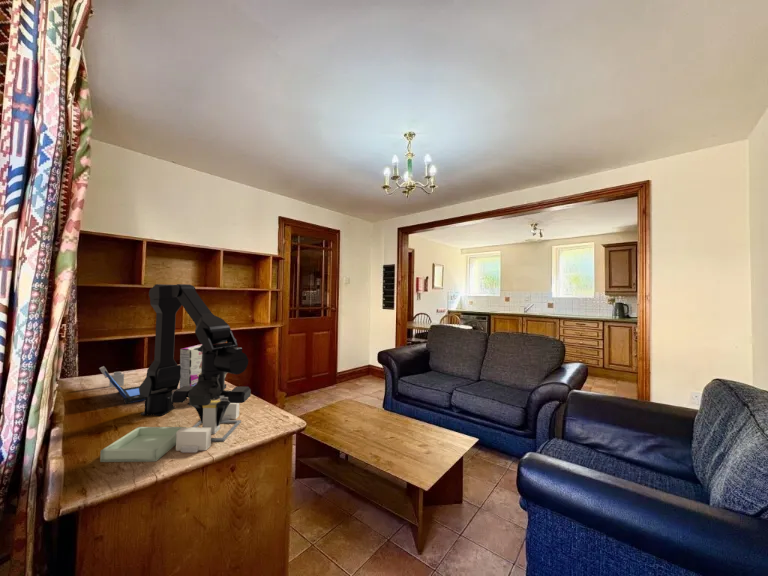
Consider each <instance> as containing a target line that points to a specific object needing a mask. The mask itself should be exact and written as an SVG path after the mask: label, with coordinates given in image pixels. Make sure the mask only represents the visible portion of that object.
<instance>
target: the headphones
mask: <svg viewBox="0 0 768 576" xmlns="http://www.w3.org/2000/svg"><path fill="white" fill-rule="evenodd" d="M240 405H241V403H230V404H229V405H228V407H227V409H226V411H225V414H224V416H223V418H222V420H221V423H220V424H234V425H233V426H232V427H230V428H229V430H228V431H227V432H226V433H225V434H224V435H223V436H222V437H212V434H211V427H199V426H200V425H201V424H202V422H201V419H200V420H199V421H198V422H196V423H195V424H194V425H193V426H191V427H186V426H181V427H182V428H181V429H179V430H178V431H177V432H176V445H175V452H176V451H178V452H179V451H180V453H198V452H199V451H207V450H208V449H209V448H210V447H211V446H212V444H211V443H212V442H224V441H225V440H227V438H228V437H229V436H230V435H231V434H232V433H233V432H234V430H236V428H237V427H238V426H239V425H240V424H241V423H242V420H240V419H238V417H239V416H240Z"/></svg>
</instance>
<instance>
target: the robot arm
mask: <svg viewBox="0 0 768 576" xmlns="http://www.w3.org/2000/svg"><path fill="white" fill-rule="evenodd" d="M148 296H149V303H150V306H151V307H152V308H153V311H154V312H155V313H156V316H155V335H154V336H155V338H154V340H155V341H154V356H153V357H154V359H153V361H152V362H151V364H150V365H149V367H148V368H147V370H146V376H145V378H144V380H143V381H142V382H141V384H140V385H139V386H140V387H139V393H140V395H143V396H145V400H144V411H143V412H141V413H140V416H164V415H166V414H168V413H169V412H170V411H172V410H173V409H175V408H176V407H175V405H174V403H176V404H179V403H180V404H182V403H185V402H186V401H187V400H188V401H189V402H188V403H187V406H190V407H193V408H194V409H195V410H196V412H197V415H198V417H199V419H200V420H201V422H202V423H201V424H202V425H203V406H205V405H208V404H210V402H211V400H218V399H219V401H220V402H218V403H217V404H216V406H217V408H218V410H217V420H216V424H217V426H219V425H220V426H221V424H222V423H221V420H222V418H223V416H224V414H225V411H226V409H227V407H228V405H229V404H230V403H240V404H242V403H245V402H246V401H247V400H248V399H249V398H250V397H251V396H252V394H251V393H252V392H251V391H252V389H251V388H250V387H249V386H235V387H234V388H233V389H230V390H228V389H227V390H226V388H227V384H226V382H225V380H226V377H225V374H226V373H227V374H232V375H240V374H242V373H244V372H245V371H246V370H247V367H248V365H249V358H248V355H247V354H246V353H244V352H243V347H239V346H238V342H237V339H236V338H235V336H234V333H233V331H232V330H231V326H230V325H229V323H227V322H226V321H225V320H224V319H223V318H221V317H219V316H217V315H215V314H213V313H212V311H211V310H210V308H209V306H207V305H206V303H205V302H204V301H203V299H202V298H201V296H200V295H199V293H198V292H197V291H196V287H195V286H194V285H192V284H190V283H189V284H188V283H187V284H183V283H181V284H180V283H178V284H164V283H163V284H161V283H157V284H154V285H153V287H150V289H149V291H148ZM181 307H183V309H184V310H185V311H186V313H187V314H188V316H189V317H190V318H191V319H192V321H193V323H194V325H195V330H194V333H195V336H196V338H197V339H198V341H199V343H200V344H202V346H201V347H199V348H198V351H200V352H202V370H201V374H200V375H199V377H198V382H197V384H196V385H195V386H183V387H181V388H180V387H179V386H180V378H181V375H180V371H181V366H180V364H178V363H177V362H176V361H175V358H174V357H175V339H176V338H175V335H176V317H177V316H176V315H177V313H178V311H179V310H180V308H181ZM227 374H226V375H227ZM187 398H188V399H187Z"/></svg>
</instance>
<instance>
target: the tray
mask: <svg viewBox="0 0 768 576" xmlns="http://www.w3.org/2000/svg"><path fill="white" fill-rule="evenodd" d="M182 427H183V426H137V427H136V428H134V429H133V430H132V431H129V432H128V433H127V434H125V435H124V436H122V437H120V438H118V439H117V440H115V441H114V442H112V443H111V444H109V445H108V446H106V447H104V448H102V449H101V450H100V457H99V458H100V459H99V462H100V463H120V462H121V463H122V462H123V463H128V462H129V463H131V462H132V463H134V462H135V463H136V462H137V463H138V462H139V463H141V462H145V463H146V462H147V463H148V462H155V463H156V462H157V461H158V460H160V458H162V457H163V456H164V455H165V454H166V453H168V452H170V450H171V449H172V448H174V447H176V432H177V431H178V430H179V429H181V428H182Z"/></svg>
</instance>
